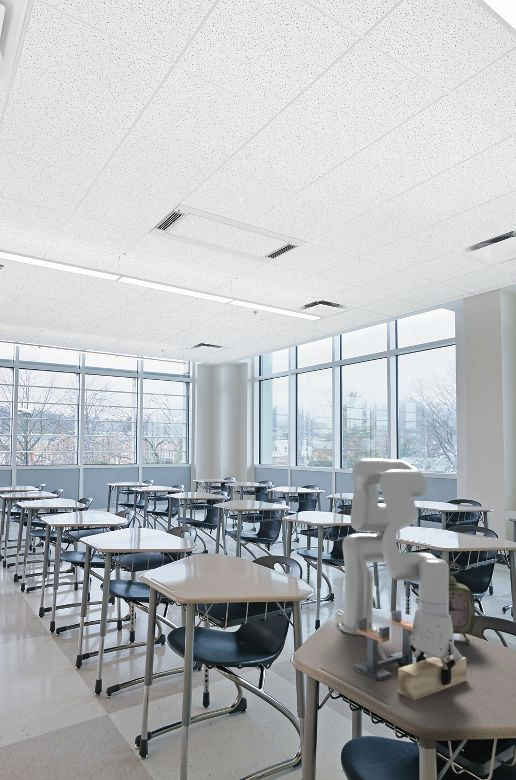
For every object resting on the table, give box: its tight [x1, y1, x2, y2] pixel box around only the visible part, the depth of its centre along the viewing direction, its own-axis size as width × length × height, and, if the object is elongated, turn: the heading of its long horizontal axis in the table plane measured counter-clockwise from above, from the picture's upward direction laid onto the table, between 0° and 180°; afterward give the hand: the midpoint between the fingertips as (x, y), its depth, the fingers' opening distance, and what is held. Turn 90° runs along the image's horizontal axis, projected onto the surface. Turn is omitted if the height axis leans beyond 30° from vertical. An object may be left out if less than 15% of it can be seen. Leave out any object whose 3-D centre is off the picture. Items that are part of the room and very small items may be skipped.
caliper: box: [367, 622, 388, 660], centre depth 161 cm, size 20×1×6 cm, turn 4°
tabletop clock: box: [445, 560, 476, 645], centre depth 176 cm, size 14×9×25 cm, turn 82°
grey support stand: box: [353, 609, 416, 682], centre depth 150 cm, size 9×20×13 cm, turn 127°
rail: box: [397, 655, 467, 701], centre depth 139 cm, size 5×22×6 cm, turn 127°
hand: (433, 678), depth 139 cm, fingers open, 6 cm apart
